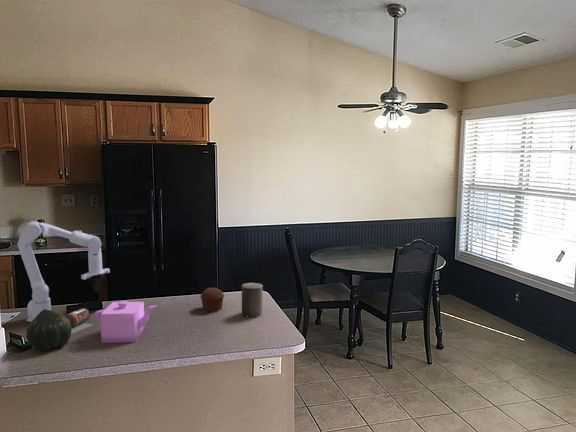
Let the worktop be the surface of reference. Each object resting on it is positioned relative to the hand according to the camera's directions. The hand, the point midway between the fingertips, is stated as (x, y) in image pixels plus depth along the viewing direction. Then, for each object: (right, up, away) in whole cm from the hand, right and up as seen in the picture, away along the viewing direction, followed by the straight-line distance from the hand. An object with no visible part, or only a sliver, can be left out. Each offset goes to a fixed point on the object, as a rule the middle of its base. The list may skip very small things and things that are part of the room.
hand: (96, 291), depth 210 cm
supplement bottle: (-1, -8, -11) cm, 13 cm away
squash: (-2, -15, -37) cm, 40 cm away
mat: (-5, -13, -19) cm, 23 cm away
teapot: (+23, -14, -26) cm, 37 cm away
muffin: (+53, -10, +7) cm, 54 cm away
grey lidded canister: (+73, -11, 0) cm, 73 cm away
